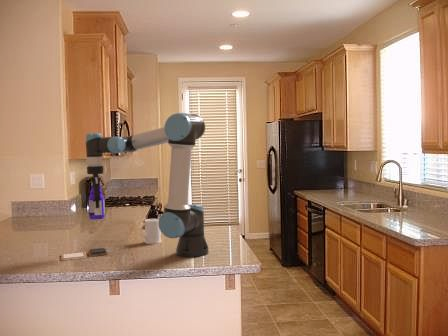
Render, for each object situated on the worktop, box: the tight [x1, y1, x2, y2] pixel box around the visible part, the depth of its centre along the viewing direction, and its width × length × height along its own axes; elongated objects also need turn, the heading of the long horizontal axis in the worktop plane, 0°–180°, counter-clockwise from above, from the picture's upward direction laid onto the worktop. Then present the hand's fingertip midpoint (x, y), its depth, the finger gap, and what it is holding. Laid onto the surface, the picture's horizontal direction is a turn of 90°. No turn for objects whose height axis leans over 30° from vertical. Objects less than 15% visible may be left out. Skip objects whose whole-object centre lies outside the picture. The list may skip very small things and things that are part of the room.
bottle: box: [88, 185, 106, 220], centre depth 217 cm, size 7×6×17 cm
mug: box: [139, 218, 162, 245], centre depth 239 cm, size 12×8×12 cm
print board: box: [60, 251, 88, 261], centre depth 214 cm, size 11×11×1 cm
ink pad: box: [87, 247, 108, 258], centre depth 218 cm, size 9×8×2 cm
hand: (97, 213), depth 217 cm, fingers closed on bottle, 6 cm apart
